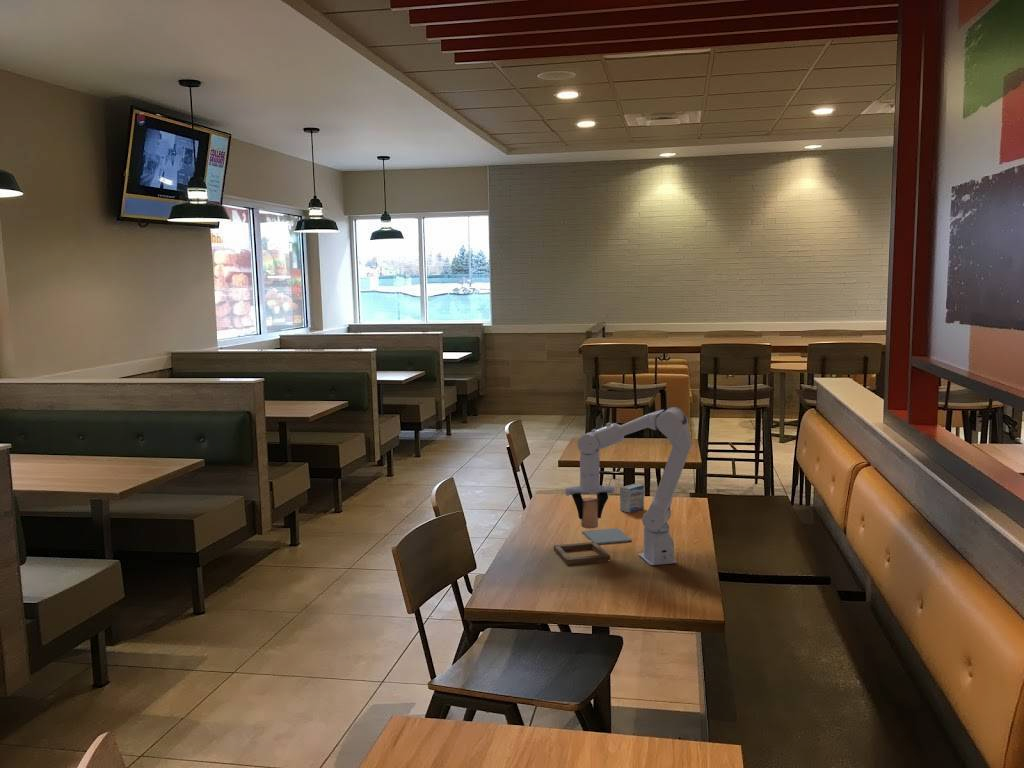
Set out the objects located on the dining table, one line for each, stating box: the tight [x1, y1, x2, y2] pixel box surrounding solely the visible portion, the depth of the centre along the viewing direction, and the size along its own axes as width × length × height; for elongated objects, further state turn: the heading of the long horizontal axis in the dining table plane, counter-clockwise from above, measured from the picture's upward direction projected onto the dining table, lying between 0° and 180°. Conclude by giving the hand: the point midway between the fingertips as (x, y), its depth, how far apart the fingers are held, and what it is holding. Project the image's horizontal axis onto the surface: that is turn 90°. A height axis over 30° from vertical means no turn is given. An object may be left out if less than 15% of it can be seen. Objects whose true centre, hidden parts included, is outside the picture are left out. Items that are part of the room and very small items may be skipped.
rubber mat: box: [581, 527, 633, 545], centre depth 256 cm, size 12×12×1 cm
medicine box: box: [619, 483, 645, 514], centre depth 285 cm, size 8×4×9 cm, turn 131°
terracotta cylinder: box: [580, 497, 599, 529], centre depth 242 cm, size 5×5×8 cm
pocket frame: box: [553, 541, 611, 566], centre depth 239 cm, size 13×13×2 cm
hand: (589, 517), depth 243 cm, fingers closed on terracotta cylinder, 5 cm apart
